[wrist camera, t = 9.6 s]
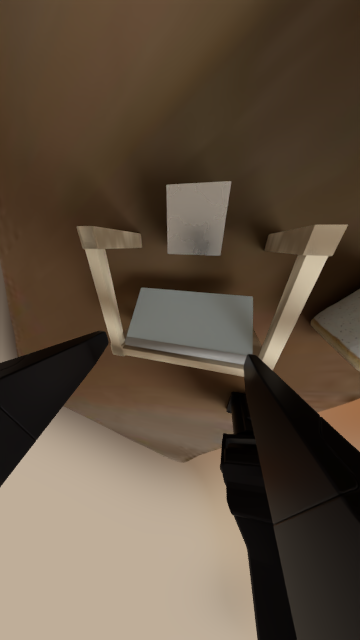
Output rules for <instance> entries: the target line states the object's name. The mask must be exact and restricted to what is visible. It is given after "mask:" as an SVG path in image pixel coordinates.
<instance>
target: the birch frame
mask: <svg viewBox="0 0 360 640" xmlns="http://www.w3.org/2000/svg"><path fill="white" fill-rule="evenodd" d="M347 226H348V225H312V226H307V227H302V228H297V229H292V230H288V231H283V232H278V233H273V234H269V235H268V239H267V242H266V246H265V250H264V251H270V252H279V253H288V254H297V255H298V256H297V259H296V261H295V264H294V266H293V269H292V272H291V274H290V277H289V279H288V282H287V284H286V287H285V290H284V292H283V295H282V297H281V300H280V302H279V305H278V307H277V310H276V313H275V315H274V318H273V320H272V323H271V325H270V328H269V330H268V333H267V336H266V338H265V341H264V343H263V346H261V344H260V342H259V339H258V337H257V335H256V333H255V331H254V330H253V354H254V355H257V356H258V357H259V358H260V359H261V360H262V361H263V362H264V363H265V364H266V365H267V366H268V367H269V368H270V369H271V370H272V371H273V368H274V366H275V364H276V362H277V360H278V358H279V356H280V354H281V352H282V350H283V348H284V346H285V344H286V342H287V340H288V338H289V336H290V334H291V332H292V330H293V328H294V326H295V324H296V321H297V319H298V317H299V315H300V313H301V311H302V309H303V307H304V305H305V303H306V301H307V299H308V297H309V295H310V293H311V291H312V289H313V287H314V285H315V283H316V281H317V279H318V276H319V274H320V272H321V270H322V268H323V266H324V264H325V262H326V260H327V258H328V256H333V254H334V252H335V250H336V248H337V246H338V244H339V242H340V240H341V238H342V236H343V234H344V232H345V230H346V228H347ZM76 227H77V230H78V234H79V237H80V241H81V244H82V248H83V249H85V251H86V255H87V258H88V262H89V266H90V269H91V273H92V276H93V280H94V283H95V287H96V291H97V294H98V298H99V301H100V305H101V308H102V312H103V315H104V319H105V323H106V326H107V330H108V333H109V337H110V340H111V344H110V345H111V349H112V352H113V354H114V355H120V356H125V355H129V356H134V357H140V358H145V359H151V360H156V361H161V362H167V363H172V364H178V365H183V366H189V367H194V368H200V369H205V370H210V371H216V372H221V373H227V374H232V375H238V376H243V377H244V369H243V367H244V365H242V364H236V363H230V362H224V361H218V360H212V359H206V358H201V357H195V356H189V355H183V354H177V353H171V352H165V351H159V350H153V349H147V348H141V347H135V346H129V345H126V344H125V338H126V336H127V333H128V330H129V327H130V326H129V327H128V328H127V329H126V330H125V331H124V332H123V329H122V324H121V320H120V315H119V311H118V306H117V301H116V297H115V292H114V288H113V283H112V278H111V274H110V269H109V265H108V260H107V256H106V251H105V249H119V248H142V241H141V234H140V233H133V232H127V231H121V230H115V229H108V228H102V227H96V226H76Z"/></svg>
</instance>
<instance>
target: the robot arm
mask: <svg viewBox="0 0 360 640" xmlns="http://www.w3.org/2000/svg"><path fill="white" fill-rule="evenodd" d="M107 345H108V338H107V335H106V332H104V331H97V332H94V333H91V334H87V335H84V336H81V337H78V338H75V339H72V340H69V341H66V342H63V343H60V344H57V345H54V346H51V347H48V348H45V349H42V350H39V351H36V352H33V353H30V354H27V355H24V356H21V357H18V358H15V359H12V360H8V361H5V362H2V363H0V487H1V485H2V484H3V483H4V481H5V480H6V479H7V478H8V476H9V475H10V474H11V472H12V471H13V470H14V469H15V467H16V466H17V465H18V463H19V462H20V461H21V459H22V458H23V457H24V456H25V454H26V453H27V452H28V451H29V449H30V448H31V446H32V445H33V444H34V443H35V442H36V440H37V439H38V437H39V436H40V435H41V434H42V432H43V431H44V430H45V428H46V427H47V426H48V425H49V423H50V422H51V420H52V419H53V418H54V417H55V416H56V414H57V413H58V412H59V410H60V409H61V408H62V407H63V405H64V404H65V403H66V401H67V400H68V399H69V398H70V396H71V395H72V394H73V392H74V391H75V390H76V389H77V387H78V386H79V385H80V383H81V382H82V381H83V380H84V378H85V377H86V376H87V374H88V373H89V372H90V371H91V369H92V368H93V367H94V365H95V364H96V362H97V361H98V359H99V358H100V356H101V355H102V353H103V352H104V350H105V348H106V347H107ZM243 369H244V380H245V390H246V395H245V394H240V393H236V392H232V393H231V396H230V400H229V403H228V406H227V412H228V413H232V422H233V432H234V434H226V433H223V439H222V453H221V464H220V470H221V472H222V473H223V478H224V482H225V485H226V487H227V488H226V489H227V503H228V506H229V509H230V511H231V513H232V515H234V517H235V520H236V522H237V525H238V527H239V529H240V532H241V534H242V537H243V539H244V541H245V544H246V547H247V551H248V559H249V568H250V576H251V584H252V594H253V603H254V611H255V620H256V629H257V638H258V640H360V452H359V451H358V450H357V449H356V448H355V447H354V446H352V445H351V444H350V443H349V442H348V441H347V440H346V439H345V438H343V436H342V435H340V434H339V433H338V432H337V431H336V430H335V429H334V428H333V427H332V426H331V425H330V424H329V423H328V422H326V421H325V420H324V419H323V418H322V417H320V415H319V414H318V413H317V412H316V411H315V410H314V409H313V408H312V407H311V406H309V405H308V404H307V403H306V402H305V401H304V400H303V399H302V398H301V397H300V396H299V395H298V394H297V393H296V392H295V391H294V390H293V389H291V388H290V387H289V386H288V385H287V384H286V383H285V382H284V381H283V380H282V379H281V378H280V377H279V376H278V375H277V374H276V373H275V372H274V371H272V370H271V369H270V368H269V367H268V366H267V365H266V364H265V363H264V362H263V361H262V360H261V359H260V358H259V357H258V356H257V355H254V354H247V356H246V359H245V362H244V367H243Z"/></svg>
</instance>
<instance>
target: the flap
mask: <svg viewBox="0 0 360 640" xmlns="http://www.w3.org/2000/svg"><path fill="white" fill-rule="evenodd" d="M125 344H126V345H129V346H135V347H141V348H147V349H153V350H159V351H165V352H171V353H177V354H183V355H189V356H195V357H201V358H206V359H212V360H218V361H224V362H230V363H236V364H242V365H244V362H245V359H246V356H247V354H253V297H250V296H238V295H226V294H214V293H202V292H190V291H178V290H166V289H154V288H142V287H141V290H140V293H139V297H138V300H137V303H136V307H135V310H134V313H133V317H132V320H131V323H130V327H129V330H128V333H127V336H126V338H125Z"/></svg>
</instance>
